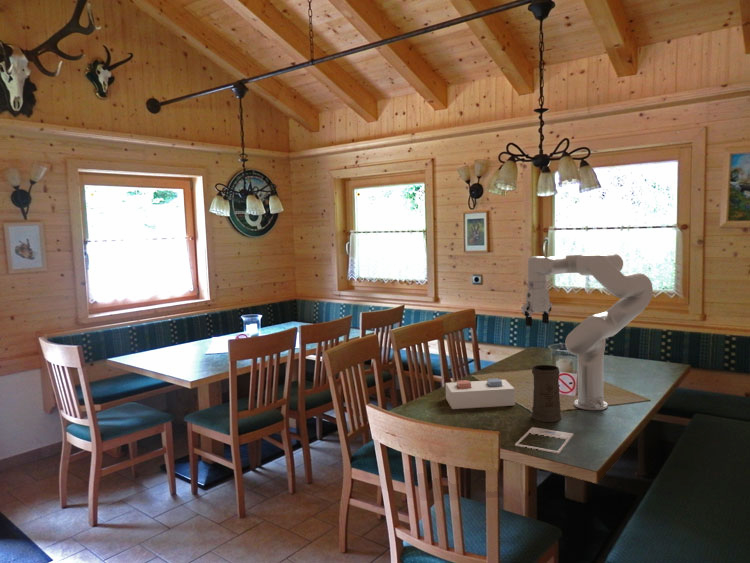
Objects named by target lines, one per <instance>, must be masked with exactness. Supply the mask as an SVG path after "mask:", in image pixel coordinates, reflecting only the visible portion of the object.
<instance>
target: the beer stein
mask: <svg viewBox="0 0 750 563" xmlns="http://www.w3.org/2000/svg"><path fill="white" fill-rule="evenodd" d="M531 375H533V398H532V399H533V400H532V413H531V418H532V419H534V420H535V421H537V422H541V421H542V423H554V422H559V421H561V419H562V414H561V402H560V401H561V400H560V398H561V397H560V383H559V380H560V379H559V378H560V368H559V367H558V366H556V365H552V364H538V365H535V366H533V367H532V370H531Z"/></svg>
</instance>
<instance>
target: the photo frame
mask: <svg viewBox="0 0 750 563" xmlns="http://www.w3.org/2000/svg"><path fill="white" fill-rule="evenodd" d="M529 433H531V434H529ZM535 434H538V435H537V436H540V435H544V436H543V437H546V436H549V437H548V438H552V437H555V438H554V439H558V438H560V440H564V439H565V441H564V442H563V443H562V445H561V446H560V447H559V448H558V450H554V449H549V448H542V447H538V446H537V447H536V446H532V445H531V446H530V445H527V444H526V445H524V444H521V442H522V441H523V440H524V439H525V438H526V437H528V435H535ZM574 436H575V435H574V433H572V432H571V433H570V432H566V431H557V430H553V429H552V430H551V429H547V428H540V427H534V426H532V427H531V428H529V429H528V431H526V433H525V434H524V435H522V436H521V437H520V438H519V440H518V441H516V443H515V444H514V446H515V447H521V448H525V447H527V448H526V449H531V448H532V450H536V449H538V450H537V451H541V452H542V451H543V452H548V453H553V454H558V455H559V454H560V453H561V452H562V450H564V448H565V446H566V445H568V443H569V442H570V440H571V439H572V438H573V437H574Z"/></svg>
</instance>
